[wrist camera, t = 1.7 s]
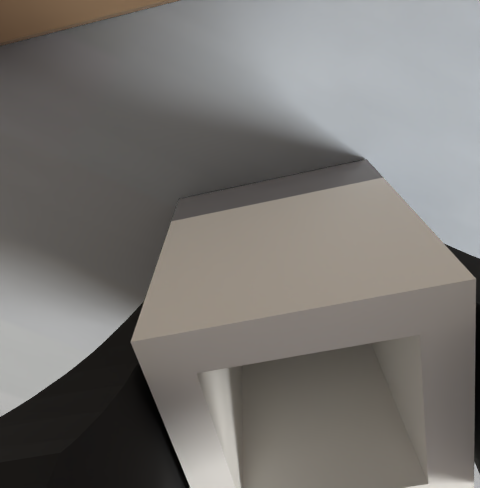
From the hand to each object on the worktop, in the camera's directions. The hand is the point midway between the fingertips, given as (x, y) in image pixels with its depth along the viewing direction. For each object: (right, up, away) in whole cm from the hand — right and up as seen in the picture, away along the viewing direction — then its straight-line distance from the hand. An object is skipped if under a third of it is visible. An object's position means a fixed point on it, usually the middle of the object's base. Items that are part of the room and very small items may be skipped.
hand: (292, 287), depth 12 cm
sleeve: (0, +1, +1) cm, 1 cm away
